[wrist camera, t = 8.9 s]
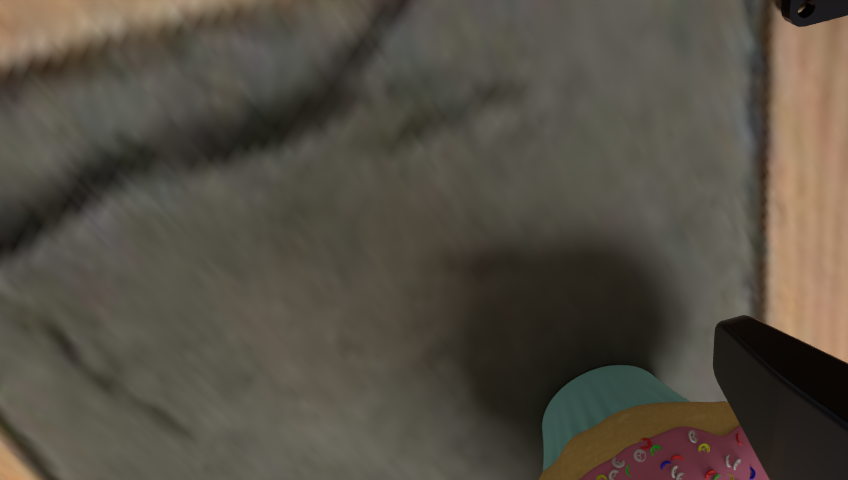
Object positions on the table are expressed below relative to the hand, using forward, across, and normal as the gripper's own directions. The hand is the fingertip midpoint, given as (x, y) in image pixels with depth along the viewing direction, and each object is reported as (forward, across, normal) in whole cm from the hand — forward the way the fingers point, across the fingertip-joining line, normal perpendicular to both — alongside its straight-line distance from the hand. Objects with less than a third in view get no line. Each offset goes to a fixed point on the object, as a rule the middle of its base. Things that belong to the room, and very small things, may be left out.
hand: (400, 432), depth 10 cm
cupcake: (+12, -7, +15) cm, 21 cm away
